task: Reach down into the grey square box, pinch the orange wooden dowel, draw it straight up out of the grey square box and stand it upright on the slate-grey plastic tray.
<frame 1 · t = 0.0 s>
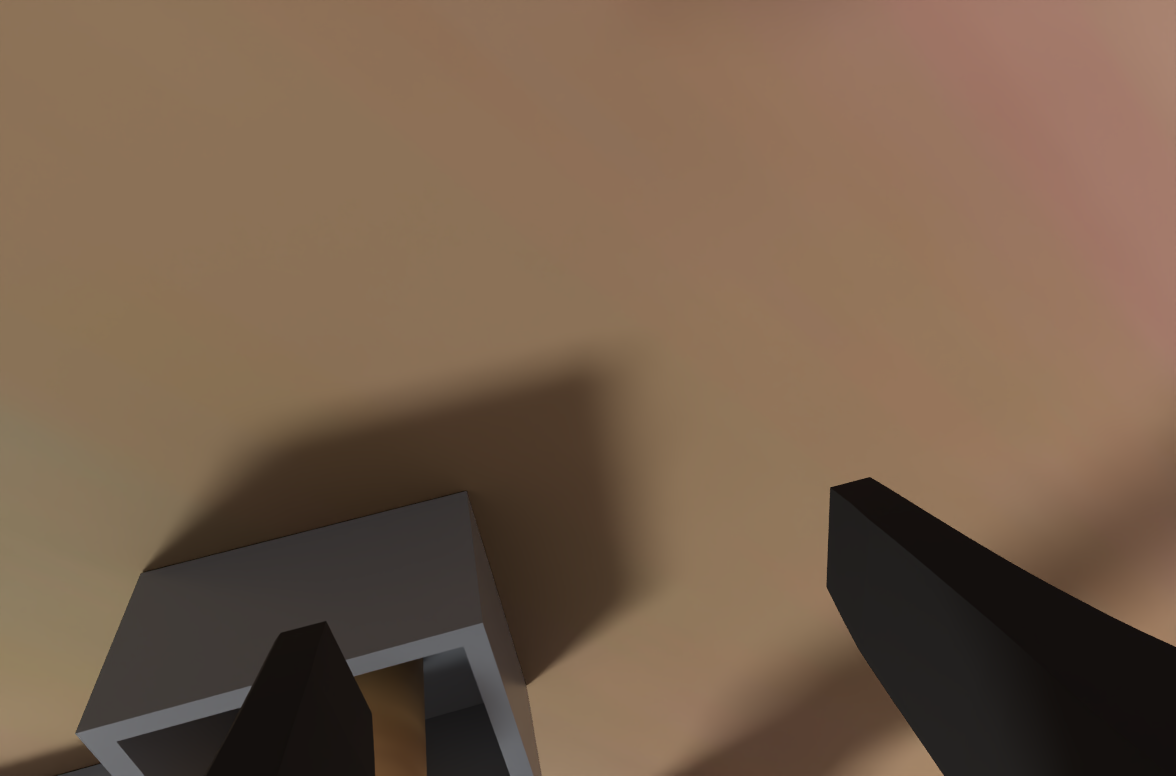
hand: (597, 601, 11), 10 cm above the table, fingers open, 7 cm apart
grey square box: (357, 637, 24), on the table
dowel: (356, 652, 23), point 1 cm above the table, touching grey square box
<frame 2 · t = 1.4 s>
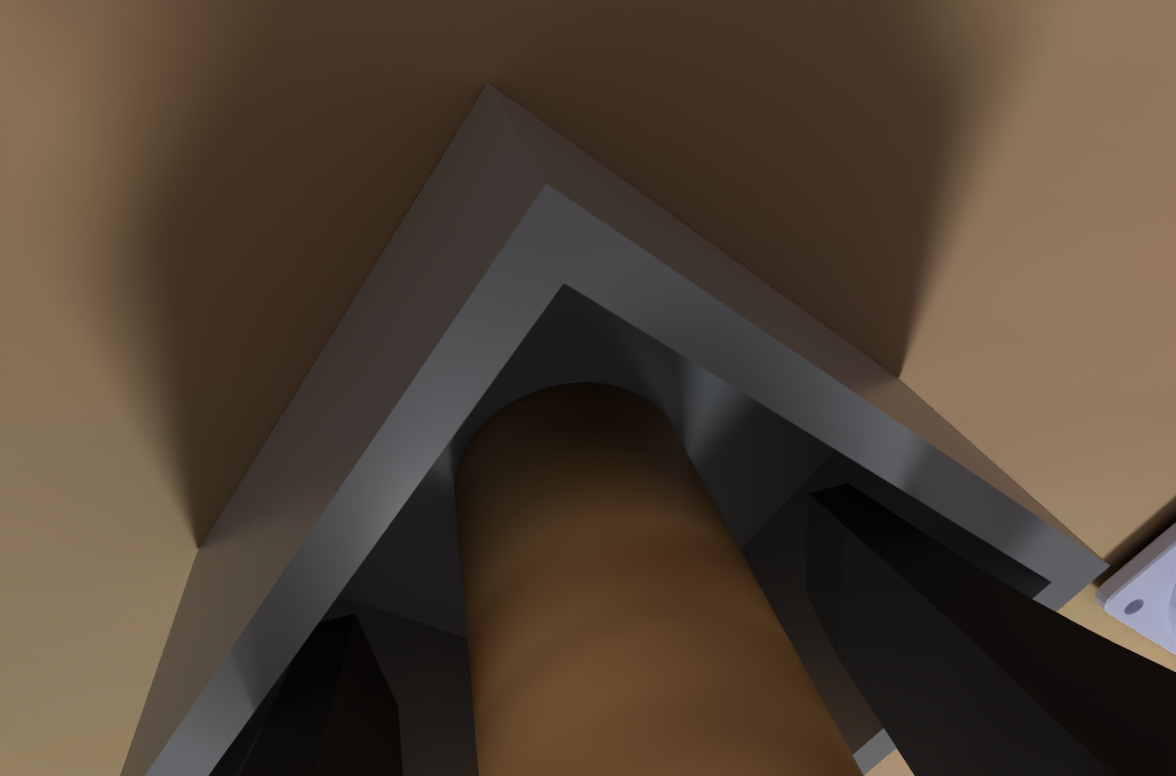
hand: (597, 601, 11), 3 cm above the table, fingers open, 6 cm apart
grey square box: (565, 462, 13), on the table
dowel: (571, 482, 13), point 1 cm above the table, touching grey square box
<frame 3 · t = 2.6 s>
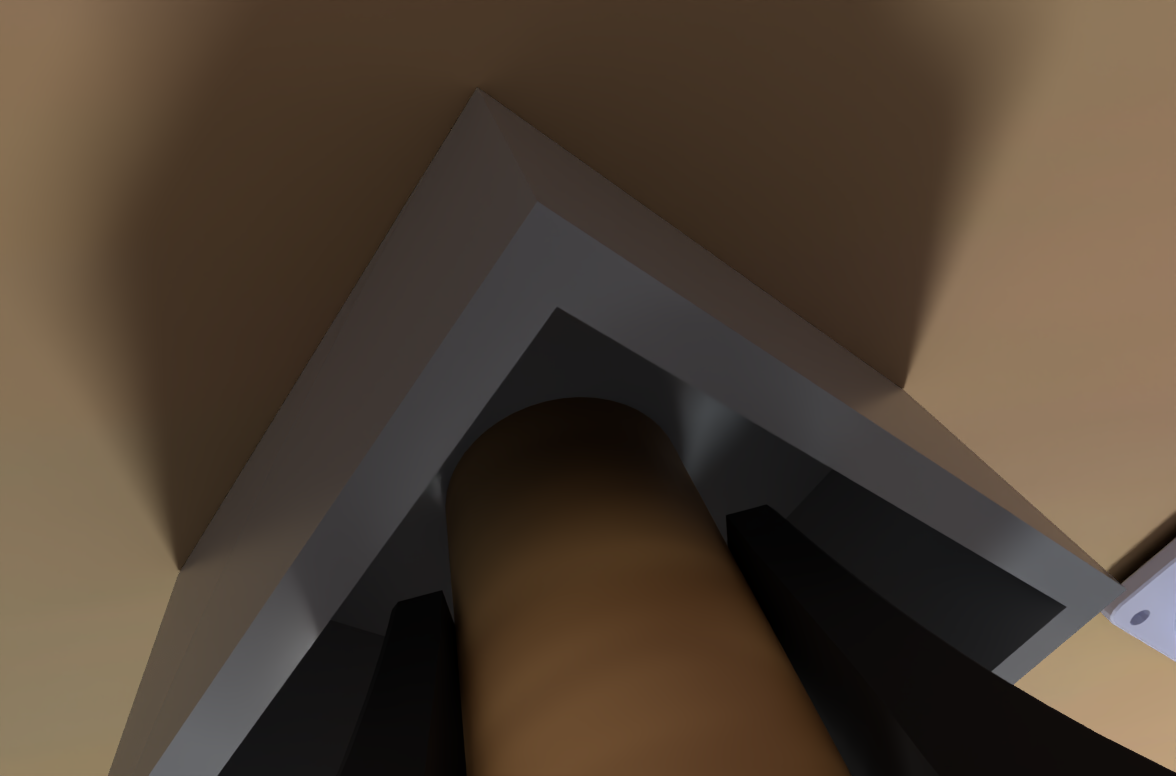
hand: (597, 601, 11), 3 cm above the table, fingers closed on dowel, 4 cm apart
grey square box: (560, 477, 13), on the table
dowel: (566, 499, 13), point 1 cm above the table, touching grey square box, gripper
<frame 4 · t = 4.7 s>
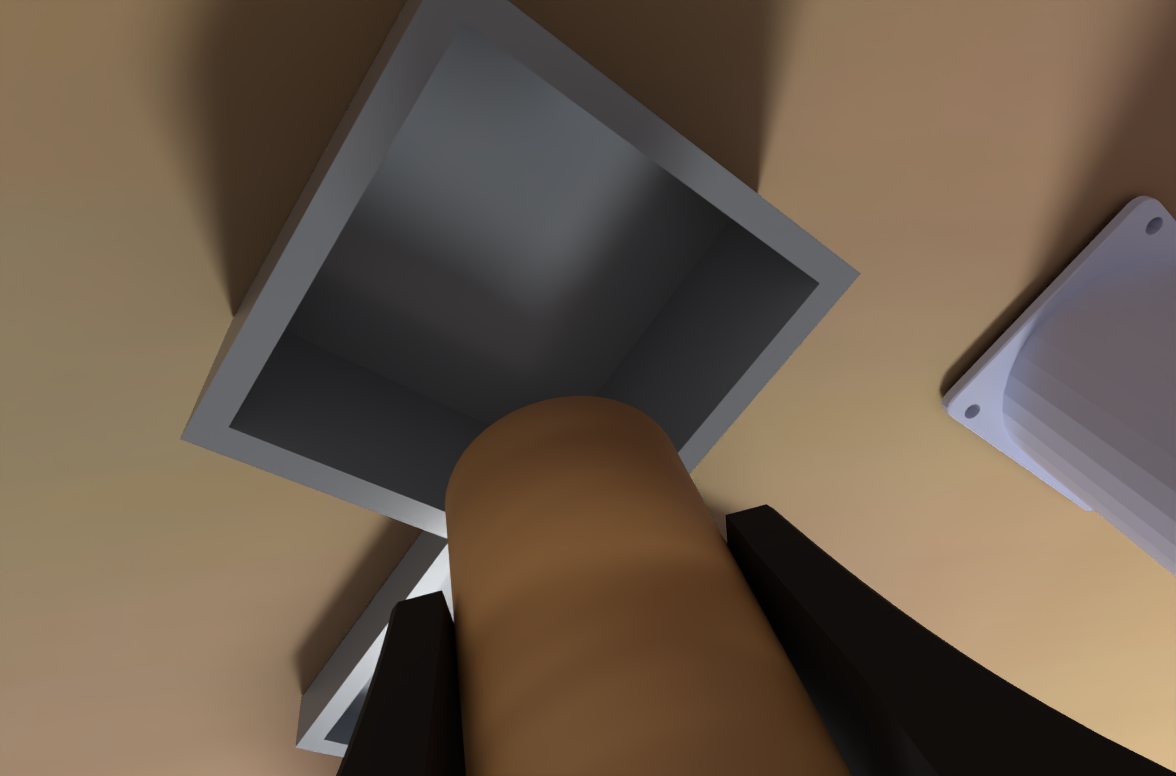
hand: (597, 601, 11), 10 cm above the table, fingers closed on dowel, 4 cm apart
tray: (535, 631, 25), on the table
grey square box: (504, 257, 18), on the table
dowel: (566, 498, 13), point 8 cm above the table, touching gripper
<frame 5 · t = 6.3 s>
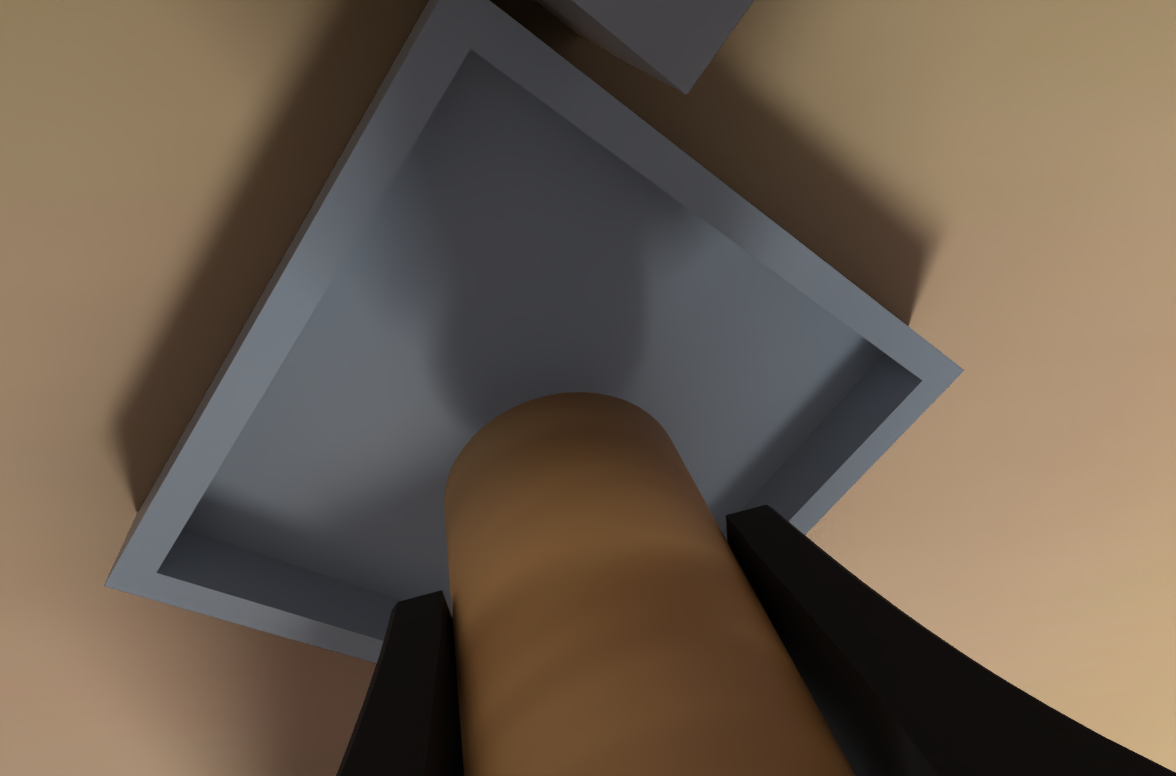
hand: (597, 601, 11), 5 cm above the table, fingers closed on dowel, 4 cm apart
tray: (543, 416, 15), on the table
dowel: (565, 495, 13), point 3 cm above the table, touching gripper
when the fingers open (4 cm above the table, at t = 7.2 s): dowel drops 1 cm, resting on tray.
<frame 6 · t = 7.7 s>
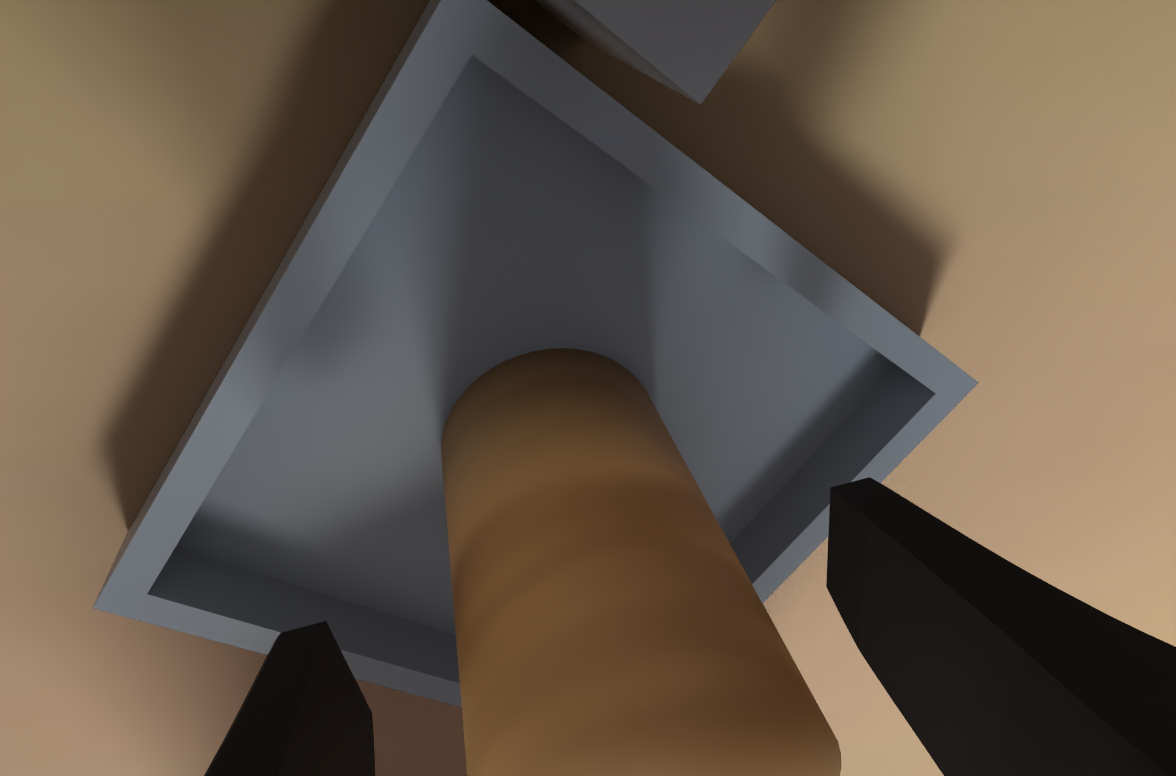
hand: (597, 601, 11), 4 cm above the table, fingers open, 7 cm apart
tray: (546, 430, 14), on the table
dowel: (551, 444, 14), point 1 cm above the table, touching tray
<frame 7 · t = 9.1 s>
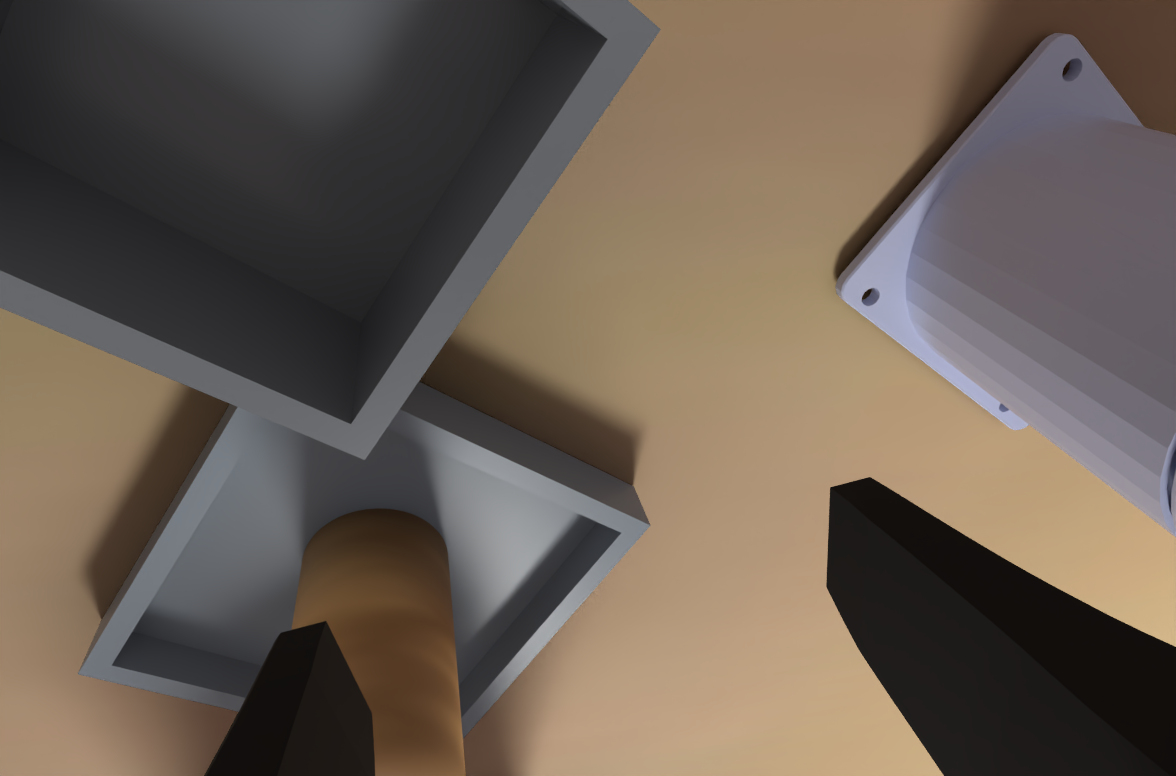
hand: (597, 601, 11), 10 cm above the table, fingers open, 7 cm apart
tray: (377, 551, 22), on the table
grey square box: (277, 61, 15), on the table
dowel: (376, 563, 21), point 1 cm above the table, touching tray
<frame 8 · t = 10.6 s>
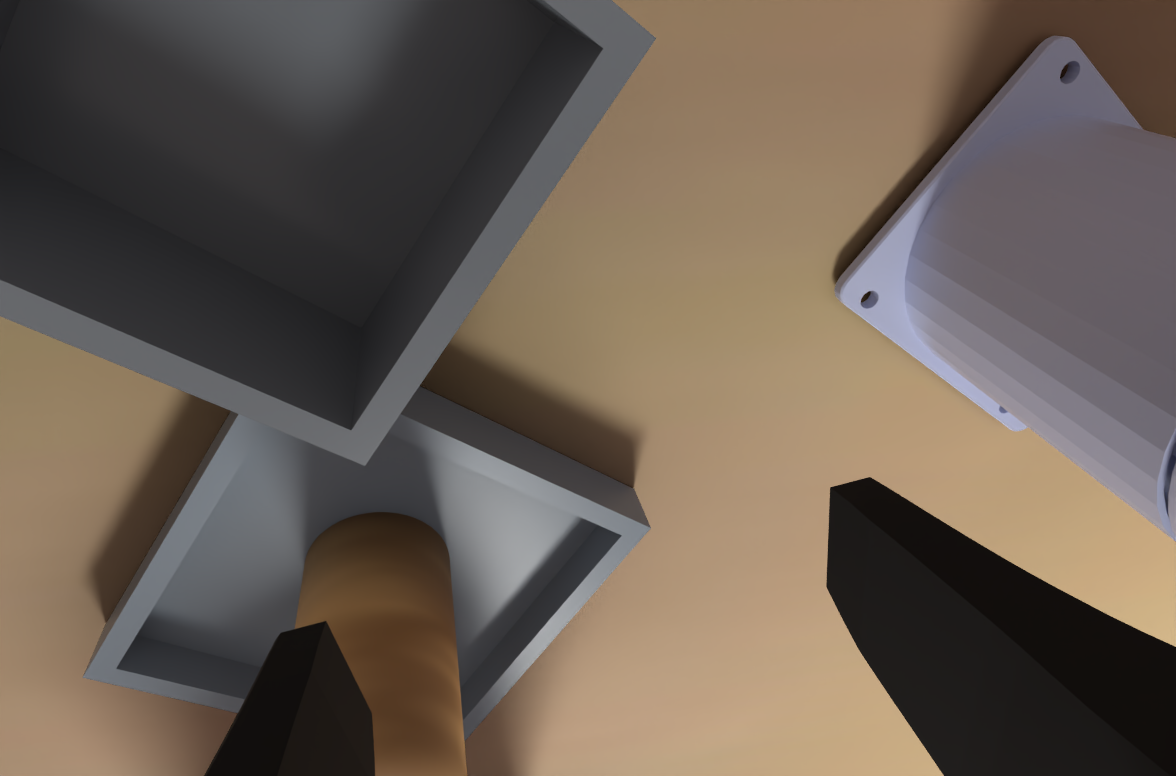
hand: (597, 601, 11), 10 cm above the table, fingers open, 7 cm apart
tray: (379, 554, 22), on the table
grey square box: (277, 70, 15), on the table
dowel: (378, 566, 21), point 1 cm above the table, touching tray
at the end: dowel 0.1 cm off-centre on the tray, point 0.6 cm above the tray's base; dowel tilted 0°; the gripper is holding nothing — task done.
